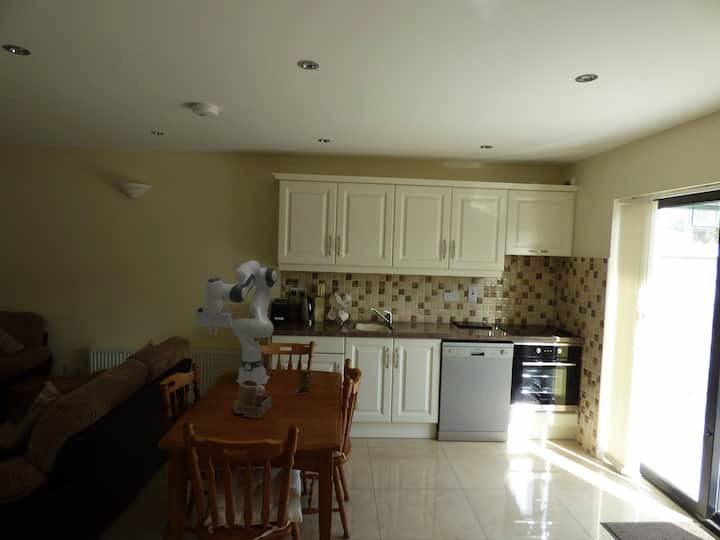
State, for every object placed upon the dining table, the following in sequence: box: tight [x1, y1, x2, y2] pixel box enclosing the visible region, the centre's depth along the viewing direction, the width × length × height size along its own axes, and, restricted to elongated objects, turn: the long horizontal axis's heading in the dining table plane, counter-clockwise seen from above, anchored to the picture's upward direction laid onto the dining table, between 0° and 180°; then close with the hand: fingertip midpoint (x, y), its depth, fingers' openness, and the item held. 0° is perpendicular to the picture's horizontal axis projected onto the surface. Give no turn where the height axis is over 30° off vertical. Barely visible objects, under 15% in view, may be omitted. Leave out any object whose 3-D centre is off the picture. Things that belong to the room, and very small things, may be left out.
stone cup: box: [233, 380, 259, 414], centre depth 225 cm, size 15×12×15 cm
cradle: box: [243, 384, 274, 419], centre depth 224 cm, size 19×10×15 cm, turn 172°
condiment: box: [294, 369, 310, 395], centre depth 258 cm, size 7×8×12 cm
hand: (213, 335), depth 236 cm, fingers closed
